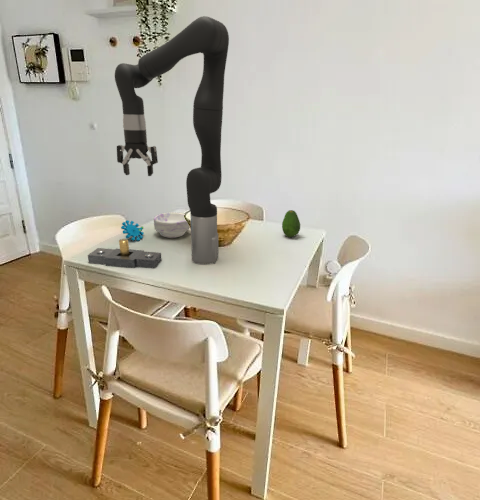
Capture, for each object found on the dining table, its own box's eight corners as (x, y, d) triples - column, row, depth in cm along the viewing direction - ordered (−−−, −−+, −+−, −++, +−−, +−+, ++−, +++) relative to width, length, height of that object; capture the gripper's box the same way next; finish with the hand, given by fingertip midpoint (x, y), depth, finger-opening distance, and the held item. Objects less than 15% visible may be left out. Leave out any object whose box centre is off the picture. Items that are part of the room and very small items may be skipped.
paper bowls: (187, 241, 148) (186, 222, 146) (150, 239, 149) (149, 221, 146) (192, 229, 163) (192, 212, 160) (159, 228, 163) (158, 211, 160)
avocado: (277, 235, 158) (279, 209, 153) (292, 233, 161) (294, 207, 157) (288, 241, 151) (290, 213, 147) (303, 238, 155) (305, 211, 150)
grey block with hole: (162, 259, 130) (161, 250, 128) (153, 269, 121) (152, 260, 120) (100, 254, 132) (98, 245, 131) (87, 264, 124) (85, 254, 123)
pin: (131, 260, 128) (129, 239, 125) (128, 263, 125) (125, 242, 122) (123, 259, 128) (121, 238, 126) (119, 263, 126) (117, 241, 123)
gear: (130, 241, 142) (118, 220, 144) (123, 248, 145) (111, 228, 147) (150, 237, 151) (138, 217, 153) (143, 244, 154) (131, 225, 156)
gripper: (158, 128, 127) (160, 174, 133) (120, 127, 129) (124, 172, 135) (150, 129, 120) (153, 178, 126) (110, 128, 122) (115, 176, 128)
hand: (138, 175), depth 130 cm, fingers open, 8 cm apart
